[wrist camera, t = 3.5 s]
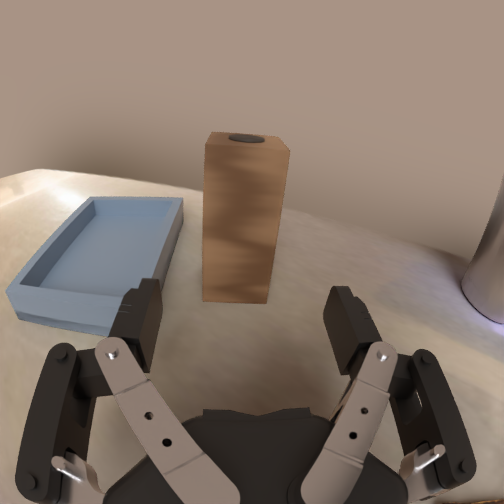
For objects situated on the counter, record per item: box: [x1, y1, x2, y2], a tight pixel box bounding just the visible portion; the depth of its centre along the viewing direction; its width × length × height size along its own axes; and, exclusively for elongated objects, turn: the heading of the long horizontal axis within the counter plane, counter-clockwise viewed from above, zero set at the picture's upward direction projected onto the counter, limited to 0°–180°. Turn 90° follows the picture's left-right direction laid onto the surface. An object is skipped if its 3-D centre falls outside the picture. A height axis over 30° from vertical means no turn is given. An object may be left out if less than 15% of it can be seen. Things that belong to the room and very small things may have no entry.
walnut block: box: [202, 132, 290, 304], centre depth 21 cm, size 5×5×12 cm
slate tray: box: [5, 197, 183, 336], centre depth 24 cm, size 12×18×3 cm, turn 3°
